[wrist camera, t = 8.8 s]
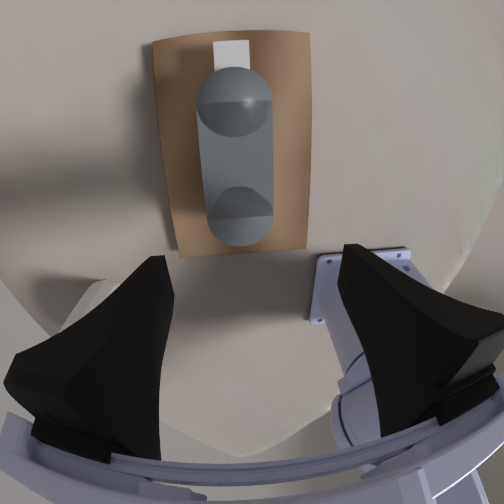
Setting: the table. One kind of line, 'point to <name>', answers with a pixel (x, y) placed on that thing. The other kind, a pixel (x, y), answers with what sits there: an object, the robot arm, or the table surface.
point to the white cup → (90, 300)
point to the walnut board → (284, 134)
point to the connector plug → (236, 147)
